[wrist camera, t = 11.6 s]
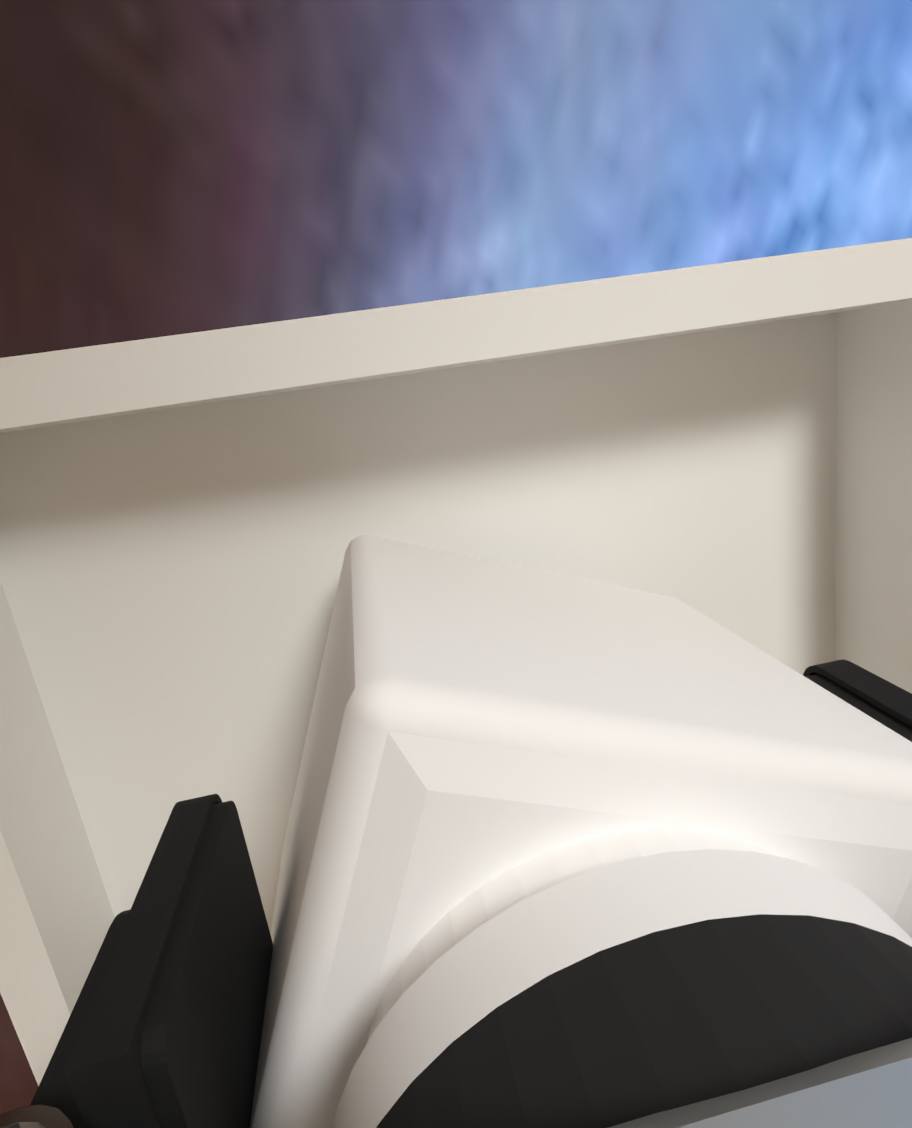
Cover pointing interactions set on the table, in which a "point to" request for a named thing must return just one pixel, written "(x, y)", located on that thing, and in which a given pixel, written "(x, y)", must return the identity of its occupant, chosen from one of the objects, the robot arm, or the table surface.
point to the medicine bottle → (571, 860)
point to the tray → (407, 530)
